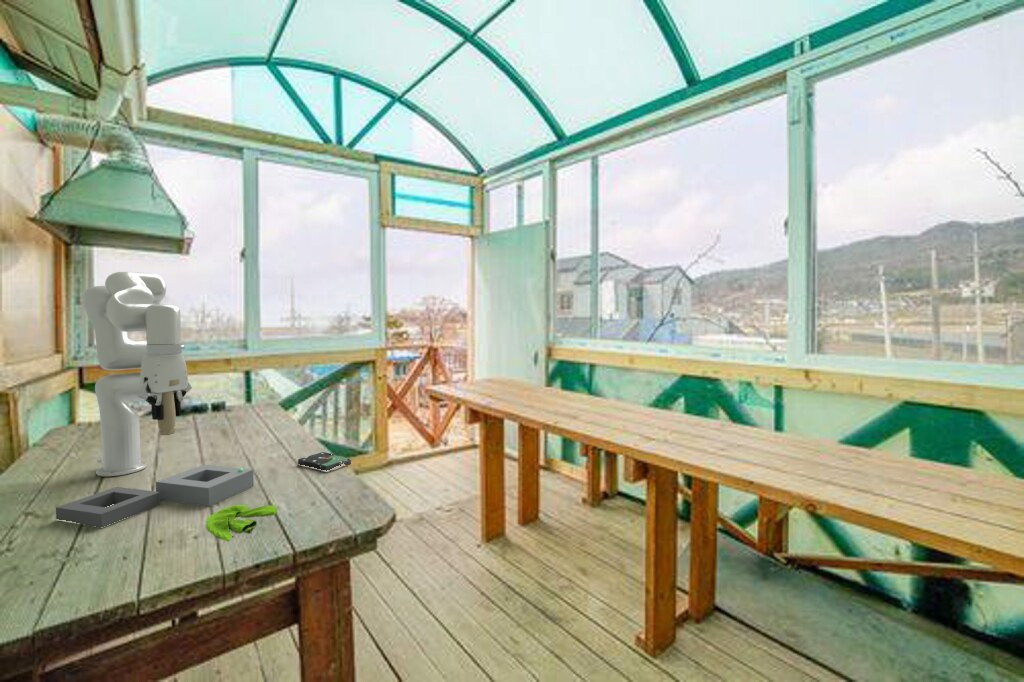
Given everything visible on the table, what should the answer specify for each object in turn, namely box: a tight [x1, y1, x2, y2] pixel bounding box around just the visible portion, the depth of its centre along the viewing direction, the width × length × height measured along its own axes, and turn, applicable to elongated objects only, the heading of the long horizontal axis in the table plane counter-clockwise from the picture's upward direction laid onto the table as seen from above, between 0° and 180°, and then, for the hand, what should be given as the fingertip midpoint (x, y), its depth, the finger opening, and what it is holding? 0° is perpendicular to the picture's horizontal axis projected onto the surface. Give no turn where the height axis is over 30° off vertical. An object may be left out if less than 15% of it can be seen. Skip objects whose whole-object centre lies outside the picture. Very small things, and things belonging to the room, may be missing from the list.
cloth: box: [205, 504, 278, 542], centre depth 113 cm, size 20×22×2 cm
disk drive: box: [297, 451, 352, 471], centre depth 156 cm, size 10×3×15 cm
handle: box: [157, 379, 180, 436], centre depth 124 cm, size 5×6×15 cm
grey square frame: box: [55, 486, 161, 528], centre depth 117 cm, size 15×14×4 cm
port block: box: [155, 464, 255, 507], centre depth 131 cm, size 18×15×6 cm
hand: (166, 416), depth 124 cm, fingers closed on handle, 4 cm apart
